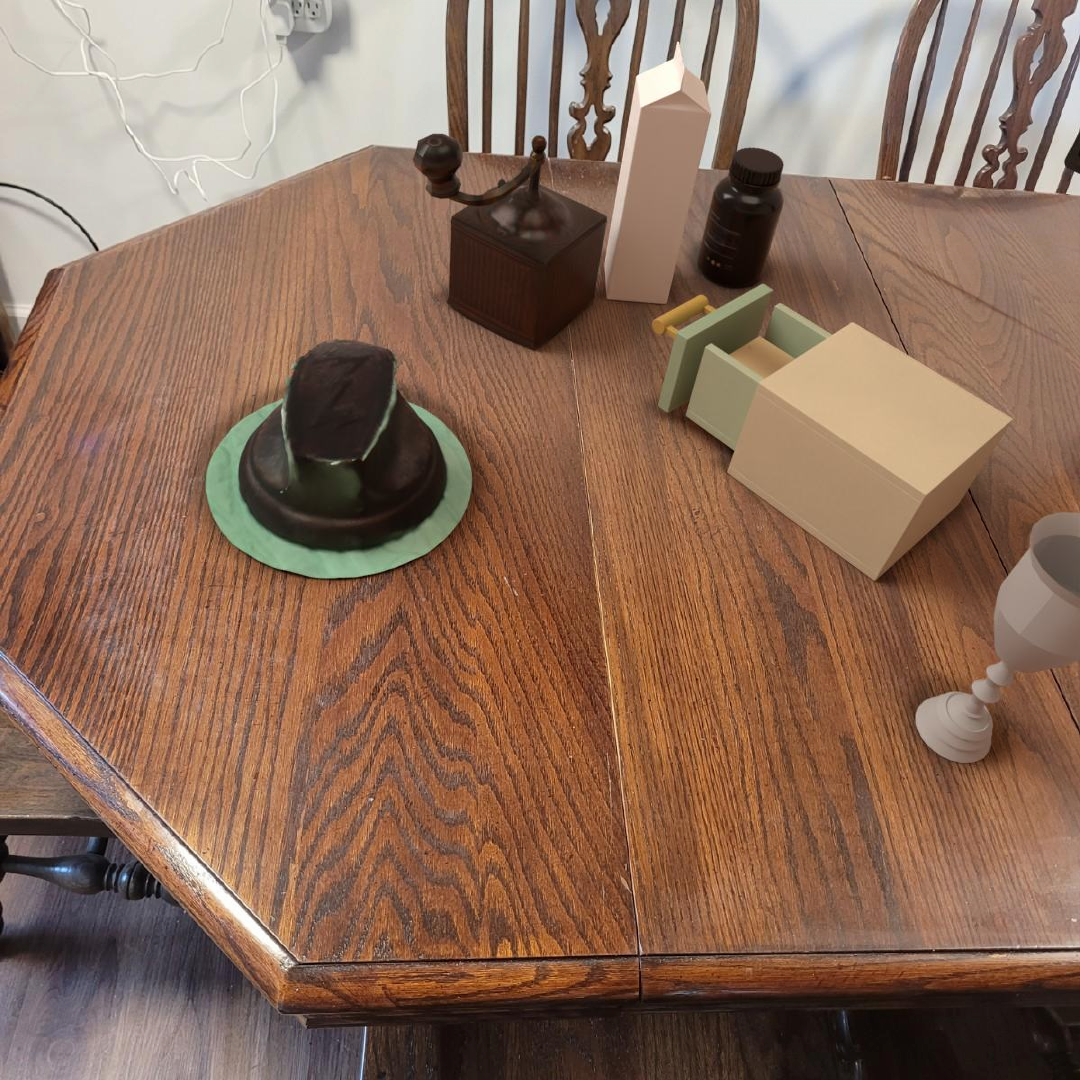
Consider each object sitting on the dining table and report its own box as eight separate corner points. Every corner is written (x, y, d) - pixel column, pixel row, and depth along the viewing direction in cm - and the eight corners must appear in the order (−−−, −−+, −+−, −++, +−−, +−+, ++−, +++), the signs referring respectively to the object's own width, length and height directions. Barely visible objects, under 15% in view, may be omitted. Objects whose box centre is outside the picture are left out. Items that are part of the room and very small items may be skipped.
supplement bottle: (722, 244, 100) (753, 134, 91) (774, 274, 97) (810, 164, 88) (681, 265, 96) (709, 154, 87) (733, 297, 94) (767, 185, 85)
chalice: (893, 750, 62) (1027, 583, 48) (904, 670, 66) (1031, 495, 52) (1005, 792, 61) (1176, 632, 47) (1010, 708, 65) (1167, 539, 51)
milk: (606, 300, 91) (645, 67, 75) (603, 264, 95) (640, 36, 79) (667, 305, 92) (721, 75, 75) (663, 269, 96) (712, 43, 79)
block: (745, 377, 82) (759, 335, 79) (787, 405, 80) (803, 363, 77) (712, 399, 80) (725, 356, 77) (754, 428, 78) (770, 385, 75)
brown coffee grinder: (504, 257, 94) (518, 74, 81) (596, 302, 91) (628, 118, 77) (403, 328, 85) (401, 136, 72) (502, 381, 82) (518, 189, 68)
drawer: (621, 379, 82) (636, 305, 76) (703, 331, 88) (724, 259, 82) (782, 496, 75) (813, 424, 69) (861, 436, 80) (896, 364, 75)
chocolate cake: (499, 563, 67) (208, 604, 63) (457, 486, 84) (226, 515, 80) (483, 353, 62) (164, 384, 58) (442, 316, 79) (192, 338, 75)
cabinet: (726, 472, 77) (758, 382, 70) (814, 410, 84) (852, 321, 76) (874, 581, 71) (926, 495, 64) (957, 505, 77) (1013, 418, 70)
